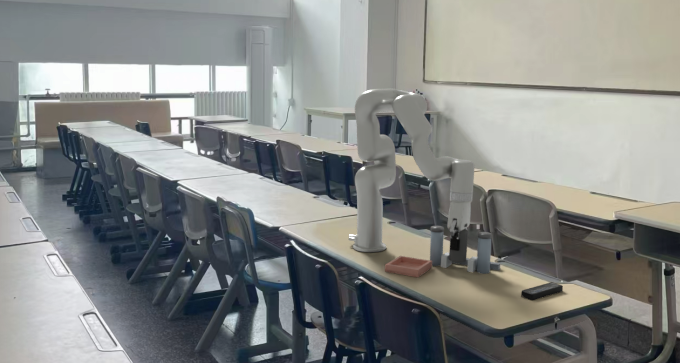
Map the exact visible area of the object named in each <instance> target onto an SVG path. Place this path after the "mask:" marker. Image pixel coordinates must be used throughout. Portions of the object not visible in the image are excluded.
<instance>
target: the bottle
mask: <svg viewBox="0 0 680 363" xmlns="http://www.w3.org/2000/svg"><path fill="white" fill-rule="evenodd" d="M464 227H467V224H465V226H464ZM455 230H458V228H455ZM455 233H457V234H458V232H455ZM468 234H469V231H468V229H467V230H466V229H463V230H462V231H461V232H460V237H459V239H460V250H459V251H455V250H451V249H450V248H449V252H448V253H449V260H450V261H452V262H457V263H461V262H465V261H466V258H467V253H468V238H469V236H468ZM449 237H451V235H450V236H449ZM450 243H451V238H449V244H450Z"/></svg>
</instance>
